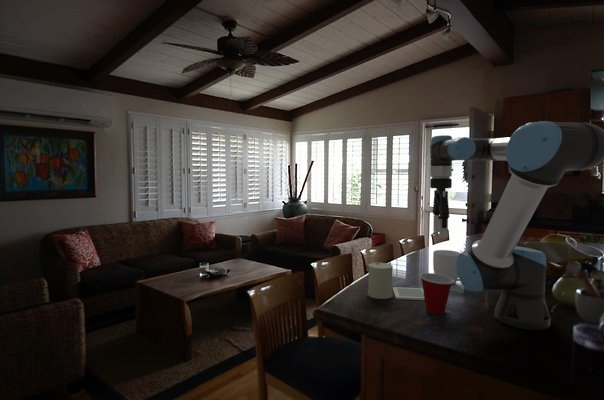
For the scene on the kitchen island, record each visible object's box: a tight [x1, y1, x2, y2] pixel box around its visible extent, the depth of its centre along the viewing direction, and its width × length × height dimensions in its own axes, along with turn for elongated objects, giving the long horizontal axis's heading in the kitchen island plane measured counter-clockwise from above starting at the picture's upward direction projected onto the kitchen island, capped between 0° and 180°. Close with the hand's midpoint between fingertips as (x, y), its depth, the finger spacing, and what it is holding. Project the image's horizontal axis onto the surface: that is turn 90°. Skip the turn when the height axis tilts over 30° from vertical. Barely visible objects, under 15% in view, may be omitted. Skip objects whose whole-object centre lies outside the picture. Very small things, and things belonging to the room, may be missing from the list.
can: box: [367, 262, 394, 300], centre depth 141 cm, size 9×9×12 cm
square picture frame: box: [392, 286, 425, 301], centre depth 142 cm, size 12×12×1 cm
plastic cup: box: [420, 272, 454, 316], centre depth 124 cm, size 11×11×12 cm
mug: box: [432, 249, 461, 285], centre depth 155 cm, size 15×11×13 cm
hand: (440, 234), depth 139 cm, fingers open, 13 cm apart
